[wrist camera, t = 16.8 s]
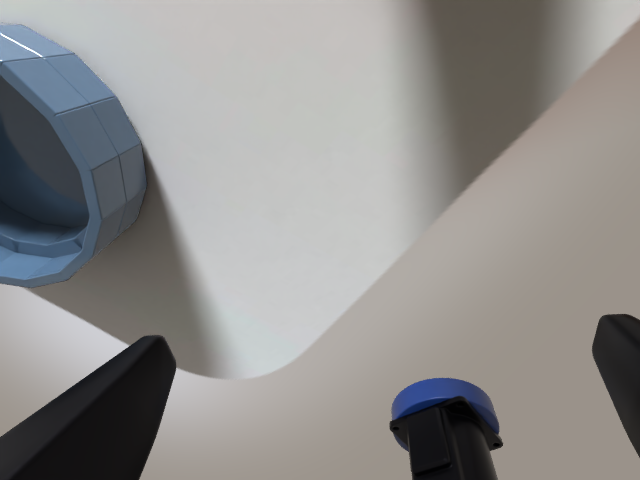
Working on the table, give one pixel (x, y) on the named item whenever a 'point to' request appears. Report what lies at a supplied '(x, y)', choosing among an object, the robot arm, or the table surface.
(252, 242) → the table surface
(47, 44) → the bowl
